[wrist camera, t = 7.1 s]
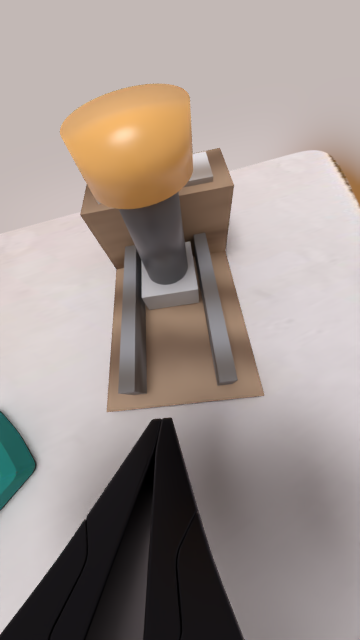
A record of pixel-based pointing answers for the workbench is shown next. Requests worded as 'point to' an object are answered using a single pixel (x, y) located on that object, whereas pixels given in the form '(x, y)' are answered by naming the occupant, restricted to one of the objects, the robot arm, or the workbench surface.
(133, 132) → the knob carriage
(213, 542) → the workbench surface
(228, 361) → the knob mount
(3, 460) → the digital multimeter
